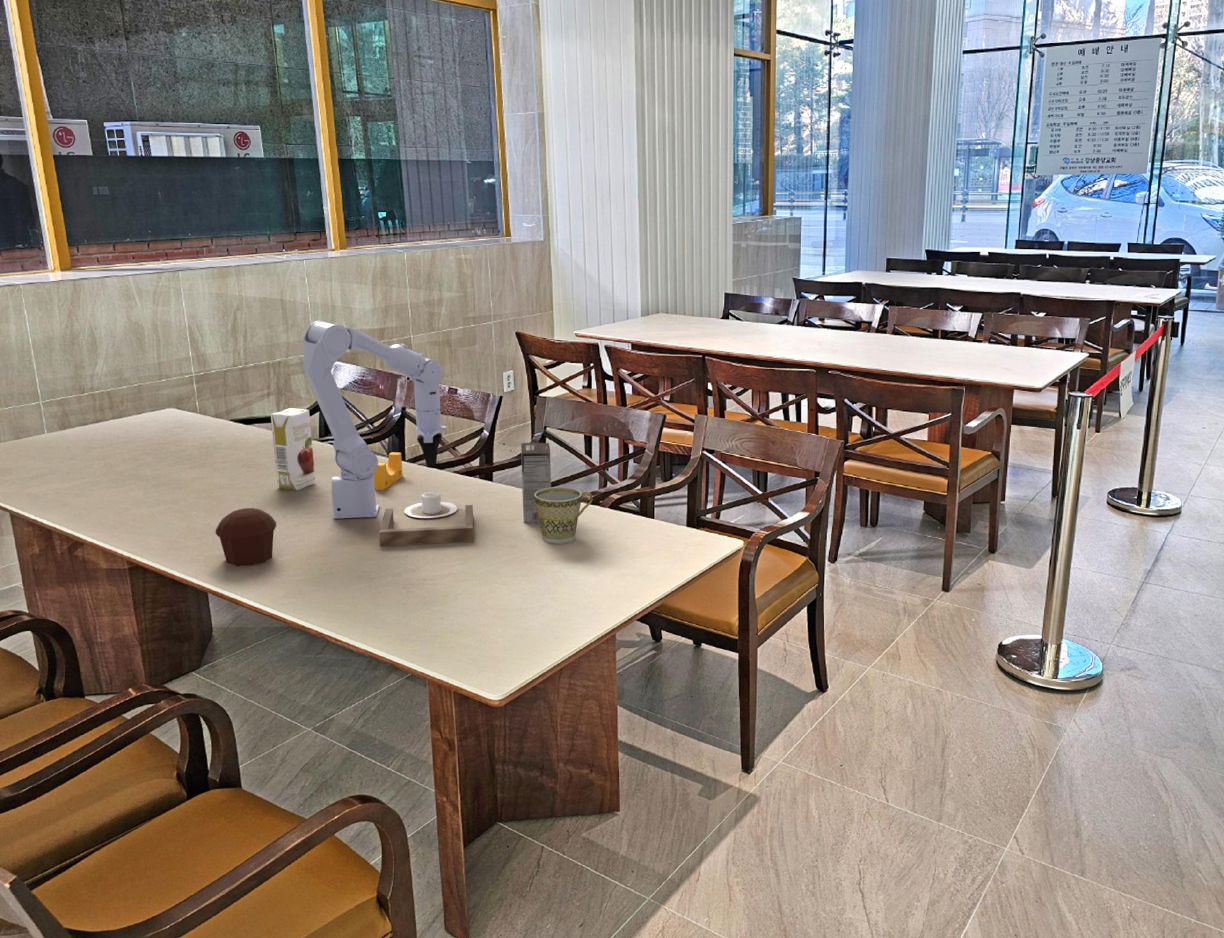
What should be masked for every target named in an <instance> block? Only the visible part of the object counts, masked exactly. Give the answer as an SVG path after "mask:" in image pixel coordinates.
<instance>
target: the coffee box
mask: <svg viewBox="0 0 1224 938" xmlns="http://www.w3.org/2000/svg"><path fill="white" fill-rule="evenodd" d="M520 446H521V447H520V450H521V451H520V452H521V459H520V460H521V487H522V488H521V491H522V511H523V512H522V513H523V523H539V518H538V513H537V509H536V504H535V498H534V494H535V492H537V491H538V490H541V489H545V488H550V487H552V473H551V472H552V469H551V465H552V464H551V448H550V443H549V442H521V445H520Z"/></svg>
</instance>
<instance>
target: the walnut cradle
mask: <svg viewBox="0 0 1224 938" xmlns="http://www.w3.org/2000/svg"><path fill="white" fill-rule="evenodd" d="M464 508H465V510H464V511H465V512H464V513H465V514H464V525H452V526H431V527H428V526H427V527H410V528H407V527H406V528H393V525H394V520H395V519H394V508H385V509H384V512H383V515H382V516H383V517H382V520H381V523H380V527H379V532H378V535H379V536H378V538H379V546H380V547H382V546H383V547H386V546H405V545H406V546H407V545H422V544H423V545H424V544H425V545H427V544H443V543H444V544H446V543H467V542H469V543H470V542H474V507H473V504H465V507H464Z"/></svg>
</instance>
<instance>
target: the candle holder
mask: <svg viewBox="0 0 1224 938" xmlns="http://www.w3.org/2000/svg"><path fill="white" fill-rule="evenodd" d="M442 507H445V508H447V509H448V510H449V511H448V512H446V513H443V514H440V515H434V514H439V513H440V512H441V510H442ZM419 508H422V513H424V514H426V515H427V514H428V515H429V516H424V515H423V516H422V515H416V514H414V513H412V512H413V511H414V510H415V509H419ZM457 510H458V506H457V505H455V504H454V503H451V502H448V501H447V502H446V501H445V502H444V501H441V494H440V493H439V492H435V491H432V492H431V491H429V492H424V493H422V494H421V502H417V503H415V504H412V505H409V506H407V507H405V509H404V510H403V511H404V514H405V515H406V516H409V517H412V518H418V519H435V518H443V517H446V516H450V515H452V514H454V513H456V512H457ZM430 515H431V516H430Z"/></svg>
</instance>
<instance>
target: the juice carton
mask: <svg viewBox="0 0 1224 938" xmlns="http://www.w3.org/2000/svg"><path fill="white" fill-rule="evenodd" d="M270 421H271V432H272V442H273V453H274V461H275V471H276V472H275V473H276V480H277V481H276V482H277V487H278V489H282V490H290V489H292V491H300V490H302V489H304V488H307V487H310V486H312V485H314V484H316V475H315V473H316V472H315V461H314V449H313V440H312V437H313V436H312V427H311V426H312V425H311V418H310V409H305V408H304V409H303V408H292V407H288V408H285V409H283V410H282V411H277V412H273V413H272V412H271V413H270ZM311 484H312V485H311ZM306 486H307V487H306Z"/></svg>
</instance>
